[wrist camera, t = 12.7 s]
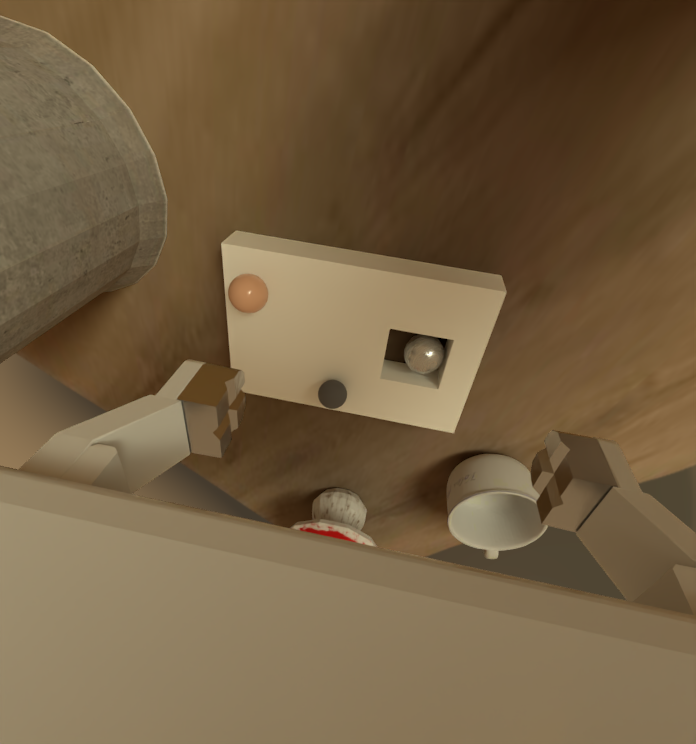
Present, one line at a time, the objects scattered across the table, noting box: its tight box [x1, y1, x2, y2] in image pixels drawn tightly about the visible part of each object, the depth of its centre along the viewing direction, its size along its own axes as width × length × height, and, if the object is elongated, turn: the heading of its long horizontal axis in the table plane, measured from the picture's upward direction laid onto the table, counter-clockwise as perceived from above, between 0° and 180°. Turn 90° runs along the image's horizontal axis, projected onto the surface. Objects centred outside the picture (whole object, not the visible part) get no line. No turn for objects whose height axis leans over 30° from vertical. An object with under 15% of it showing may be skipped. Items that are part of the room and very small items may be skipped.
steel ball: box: [404, 334, 444, 374], centre depth 42 cm, size 4×4×4 cm
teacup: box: [447, 454, 548, 559], centre depth 51 cm, size 14×11×8 cm
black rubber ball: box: [318, 380, 347, 409], centre depth 43 cm, size 3×3×3 cm
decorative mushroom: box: [290, 488, 377, 547], centre depth 56 cm, size 14×14×15 cm
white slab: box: [221, 231, 507, 433], centre depth 42 cm, size 25×17×4 cm
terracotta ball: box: [228, 273, 268, 313], centre depth 37 cm, size 4×4×4 cm
